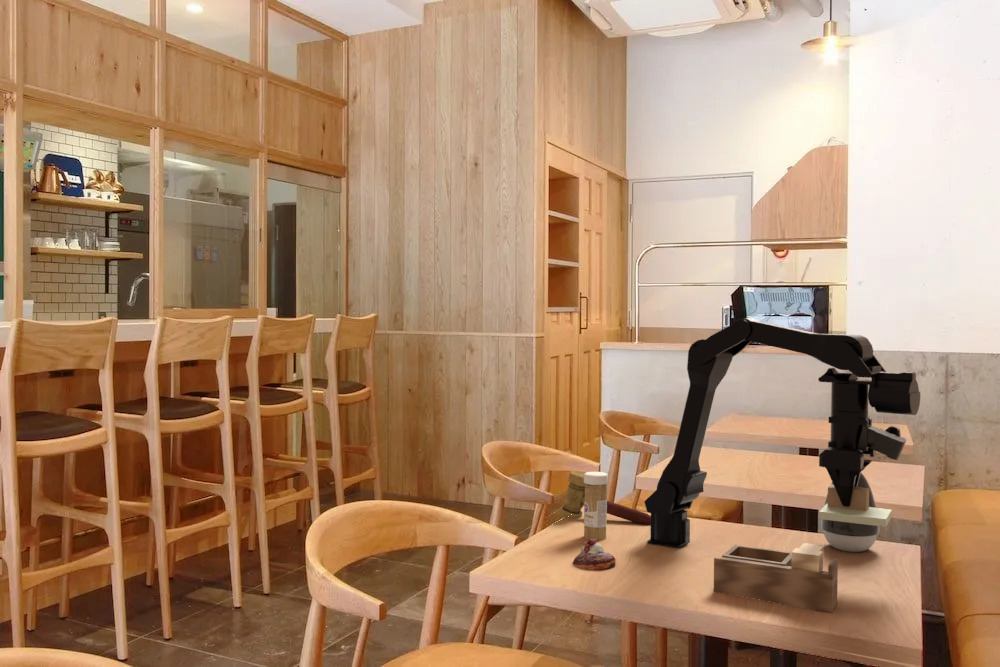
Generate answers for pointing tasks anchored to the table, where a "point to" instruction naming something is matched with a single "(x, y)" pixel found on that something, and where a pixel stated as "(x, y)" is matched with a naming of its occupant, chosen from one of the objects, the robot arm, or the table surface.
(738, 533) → the table surface
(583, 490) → the gavel
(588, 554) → the pastry
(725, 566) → the toolbox
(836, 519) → the lid
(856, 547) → the grey white egg shape
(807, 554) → the tan wooden block
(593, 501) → the sprinkles bottle
